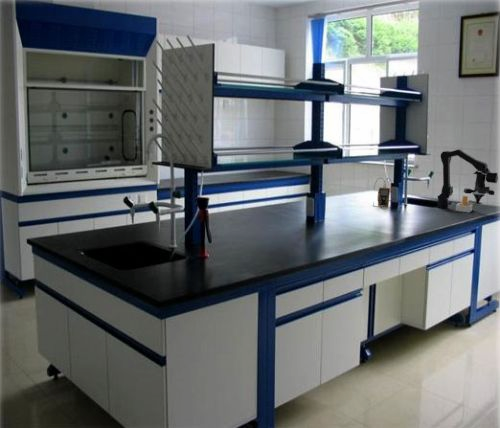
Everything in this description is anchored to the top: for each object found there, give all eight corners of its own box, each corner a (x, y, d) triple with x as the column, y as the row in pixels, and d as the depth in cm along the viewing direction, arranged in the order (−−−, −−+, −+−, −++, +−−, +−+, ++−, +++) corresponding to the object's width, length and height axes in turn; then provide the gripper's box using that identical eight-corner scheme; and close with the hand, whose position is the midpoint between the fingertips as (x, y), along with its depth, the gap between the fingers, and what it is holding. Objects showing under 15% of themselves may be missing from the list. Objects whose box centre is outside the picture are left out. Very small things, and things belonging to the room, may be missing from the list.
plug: (458, 208, 384) (459, 196, 382) (460, 207, 389) (461, 195, 387) (467, 210, 381) (469, 197, 379) (469, 208, 386) (470, 196, 384)
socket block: (455, 210, 383) (456, 205, 383) (458, 208, 392) (458, 202, 391) (469, 212, 379) (470, 206, 378) (471, 210, 387) (472, 204, 387)
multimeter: (371, 207, 387) (373, 178, 383) (372, 205, 396) (374, 177, 392) (393, 209, 383) (395, 180, 379) (394, 206, 392) (396, 178, 388)
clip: (480, 206, 378) (480, 202, 377) (467, 203, 388) (467, 200, 387) (482, 206, 378) (482, 202, 378) (469, 203, 388) (469, 199, 388)
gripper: (469, 182, 369) (466, 205, 372) (498, 183, 367) (495, 207, 370) (464, 179, 379) (461, 202, 383) (493, 181, 378) (490, 204, 381)
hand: (477, 204), depth 379 cm, fingers closed
